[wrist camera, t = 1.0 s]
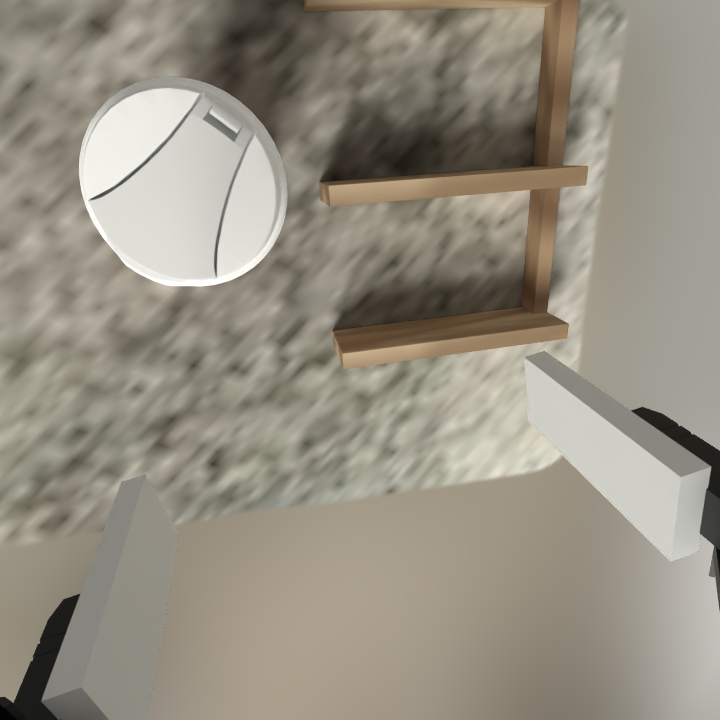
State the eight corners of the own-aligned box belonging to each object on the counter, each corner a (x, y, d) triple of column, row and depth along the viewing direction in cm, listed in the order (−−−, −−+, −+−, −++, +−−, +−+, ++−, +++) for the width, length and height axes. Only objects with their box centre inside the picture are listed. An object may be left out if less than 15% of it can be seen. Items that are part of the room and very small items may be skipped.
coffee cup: (188, 80, 30) (130, 14, 16) (299, 163, 33) (328, 166, 19) (125, 195, 31) (26, 223, 18) (236, 263, 35) (222, 331, 21)
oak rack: (278, -279, 25) (282, -377, 20) (585, -255, 27) (650, -337, 23) (333, 344, 38) (343, 369, 34) (533, 318, 41) (566, 338, 37)
